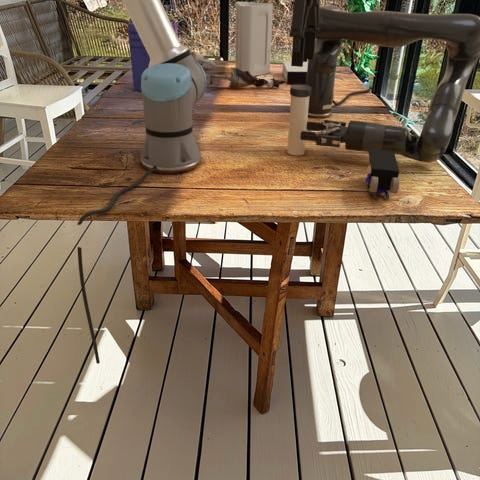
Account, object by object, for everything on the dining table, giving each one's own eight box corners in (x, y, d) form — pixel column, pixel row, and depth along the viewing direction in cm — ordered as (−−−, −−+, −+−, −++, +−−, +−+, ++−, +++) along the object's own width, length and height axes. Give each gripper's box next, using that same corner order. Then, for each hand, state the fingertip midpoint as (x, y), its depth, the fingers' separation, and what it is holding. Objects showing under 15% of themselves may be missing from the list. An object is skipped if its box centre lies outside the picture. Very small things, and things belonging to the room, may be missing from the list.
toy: (170, 75, 210) (169, 59, 206) (146, 65, 227) (145, 49, 223) (217, 69, 221) (217, 53, 218) (191, 60, 239) (191, 45, 235)
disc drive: (287, 84, 198) (287, 71, 196) (281, 72, 218) (282, 61, 215) (329, 84, 199) (330, 72, 196) (320, 72, 218) (321, 61, 216)
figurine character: (397, 209, 105) (389, 175, 117) (404, 179, 101) (395, 147, 112) (366, 207, 106) (361, 173, 118) (371, 177, 101) (366, 145, 113)
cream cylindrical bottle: (307, 153, 130) (313, 90, 121) (293, 156, 128) (298, 92, 119) (298, 148, 134) (303, 86, 125) (283, 150, 132) (288, 87, 123)
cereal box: (180, 88, 189) (177, 22, 177) (178, 91, 185) (174, 24, 173) (137, 87, 190) (130, 21, 178) (134, 90, 186) (127, 23, 173)
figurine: (210, 87, 179) (288, 95, 182) (212, 65, 176) (291, 73, 180) (208, 84, 201) (278, 91, 205) (210, 64, 198) (280, 71, 202)
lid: (315, 95, 122) (315, 88, 121) (297, 97, 120) (297, 90, 119) (303, 90, 126) (303, 83, 125) (285, 92, 124) (286, 85, 123)
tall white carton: (273, 76, 210) (276, 6, 196) (239, 77, 209) (240, 6, 194) (266, 67, 226) (268, 2, 212) (235, 67, 225) (235, 1, 210)
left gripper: (308, -43, 117) (301, 54, 129) (279, -43, 100) (273, 69, 111) (338, -43, 115) (328, 56, 126) (314, -42, 97) (304, 72, 109)
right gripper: (369, 114, 127) (309, 109, 131) (365, 131, 116) (299, 124, 119) (365, 141, 131) (306, 135, 135) (361, 160, 119) (297, 152, 123)
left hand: (302, 62), depth 119 cm, fingers open, 9 cm apart
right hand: (303, 130), depth 127 cm, fingers open, 8 cm apart
